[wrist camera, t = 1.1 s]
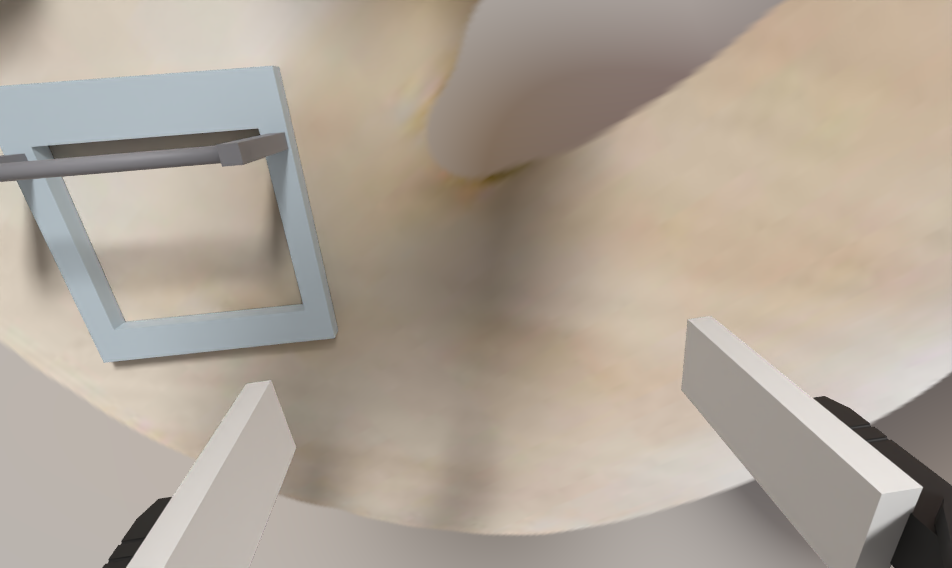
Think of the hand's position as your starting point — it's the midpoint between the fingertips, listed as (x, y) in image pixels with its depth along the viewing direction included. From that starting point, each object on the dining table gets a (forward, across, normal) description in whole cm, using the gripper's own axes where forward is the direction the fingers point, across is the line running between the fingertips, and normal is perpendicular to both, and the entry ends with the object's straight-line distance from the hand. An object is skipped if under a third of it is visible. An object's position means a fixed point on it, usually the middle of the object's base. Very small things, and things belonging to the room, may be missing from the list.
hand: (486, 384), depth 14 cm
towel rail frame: (+25, -22, +1) cm, 33 cm away
